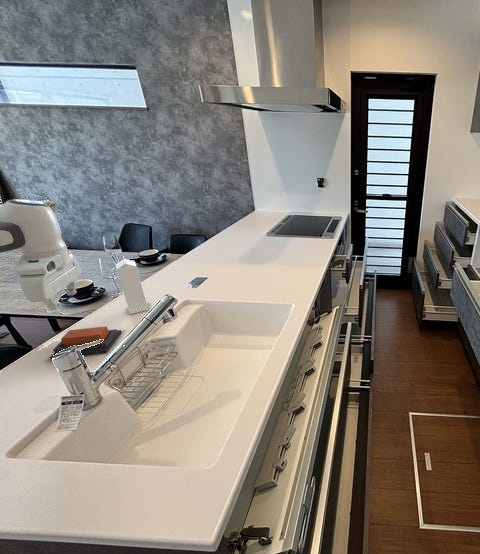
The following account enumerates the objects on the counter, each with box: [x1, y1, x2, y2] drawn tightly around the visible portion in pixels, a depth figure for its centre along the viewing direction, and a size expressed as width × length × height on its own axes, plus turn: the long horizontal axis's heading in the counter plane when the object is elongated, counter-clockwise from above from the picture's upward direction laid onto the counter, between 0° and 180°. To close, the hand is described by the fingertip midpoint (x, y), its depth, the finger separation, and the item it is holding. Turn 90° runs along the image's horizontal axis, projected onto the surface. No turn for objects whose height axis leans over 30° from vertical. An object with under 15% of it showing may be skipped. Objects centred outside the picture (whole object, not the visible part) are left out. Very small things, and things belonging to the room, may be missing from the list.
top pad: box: [60, 325, 109, 347], centre depth 98 cm, size 10×5×4 cm, turn 108°
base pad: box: [49, 328, 122, 361], centre depth 99 cm, size 14×12×2 cm
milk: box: [115, 255, 149, 315], centre depth 117 cm, size 6×6×22 cm
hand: (63, 301), depth 91 cm, fingers open, 8 cm apart
